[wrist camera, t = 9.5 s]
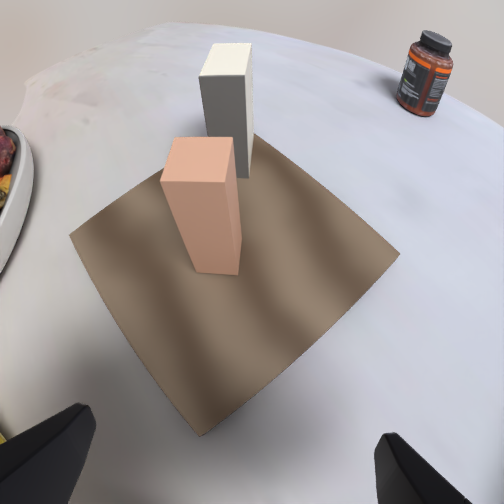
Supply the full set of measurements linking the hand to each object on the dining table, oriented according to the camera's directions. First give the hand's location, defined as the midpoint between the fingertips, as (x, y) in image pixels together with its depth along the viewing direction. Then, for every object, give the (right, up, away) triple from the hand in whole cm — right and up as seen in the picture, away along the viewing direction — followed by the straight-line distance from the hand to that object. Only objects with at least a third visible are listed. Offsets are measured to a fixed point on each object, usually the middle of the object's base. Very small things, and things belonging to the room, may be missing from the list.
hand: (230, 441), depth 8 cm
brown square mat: (-2, +6, +17) cm, 18 cm away
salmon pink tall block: (-2, +5, +16) cm, 16 cm away
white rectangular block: (-1, +14, +20) cm, 25 cm away
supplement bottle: (+23, +25, +27) cm, 44 cm away
